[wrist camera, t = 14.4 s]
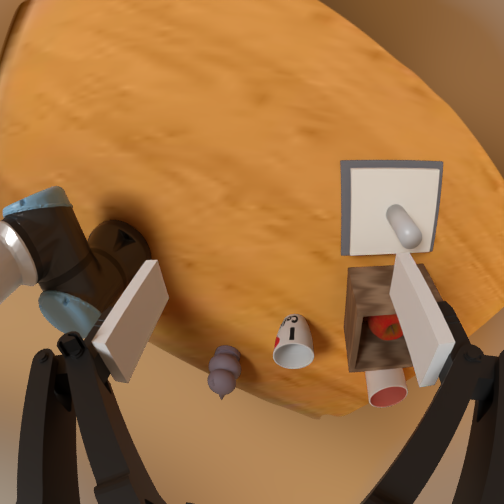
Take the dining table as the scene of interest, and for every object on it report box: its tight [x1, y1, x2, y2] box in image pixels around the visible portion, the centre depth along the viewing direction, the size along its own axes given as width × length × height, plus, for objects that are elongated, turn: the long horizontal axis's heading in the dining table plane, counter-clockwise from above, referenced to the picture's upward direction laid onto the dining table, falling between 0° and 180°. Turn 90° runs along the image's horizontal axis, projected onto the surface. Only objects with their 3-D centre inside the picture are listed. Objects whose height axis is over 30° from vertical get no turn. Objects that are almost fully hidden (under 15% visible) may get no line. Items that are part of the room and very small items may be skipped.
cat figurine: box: [208, 346, 241, 400], centre depth 70 cm, size 8×8×12 cm
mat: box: [341, 160, 443, 256], centre depth 51 cm, size 19×18×1 cm
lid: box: [350, 168, 440, 256], centre depth 46 cm, size 16×16×11 cm
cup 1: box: [273, 314, 314, 369], centre depth 63 cm, size 8×8×10 cm
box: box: [344, 264, 443, 373], centre depth 55 cm, size 16×16×13 cm
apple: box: [367, 314, 404, 341], centre depth 56 cm, size 9×8×11 cm
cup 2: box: [365, 368, 408, 407], centre depth 68 cm, size 10×10×10 cm
